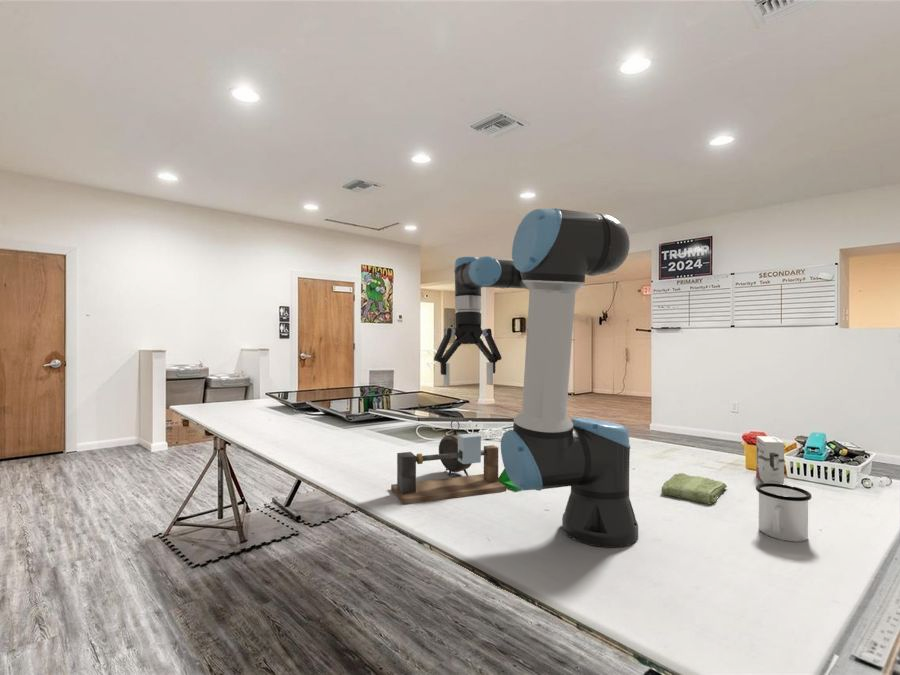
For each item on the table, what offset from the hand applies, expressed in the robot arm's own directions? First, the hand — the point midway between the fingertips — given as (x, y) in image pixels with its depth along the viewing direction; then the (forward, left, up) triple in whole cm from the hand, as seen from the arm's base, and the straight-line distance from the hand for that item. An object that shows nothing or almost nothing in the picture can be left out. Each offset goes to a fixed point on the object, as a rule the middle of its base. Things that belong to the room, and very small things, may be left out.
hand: (468, 385), depth 135 cm
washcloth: (-31, -51, -27) cm, 66 cm away
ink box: (-32, -80, -27) cm, 90 cm away
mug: (-58, -45, -27) cm, 78 cm away
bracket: (-10, -12, -27) cm, 31 cm away
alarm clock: (+5, +2, -27) cm, 27 cm away
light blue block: (-8, +3, -19) cm, 21 cm away
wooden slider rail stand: (-8, +9, -27) cm, 29 cm away
